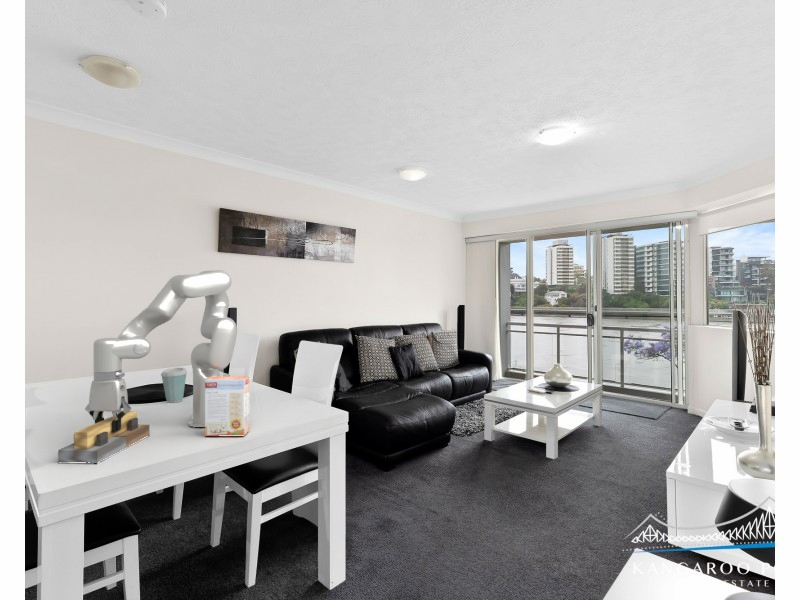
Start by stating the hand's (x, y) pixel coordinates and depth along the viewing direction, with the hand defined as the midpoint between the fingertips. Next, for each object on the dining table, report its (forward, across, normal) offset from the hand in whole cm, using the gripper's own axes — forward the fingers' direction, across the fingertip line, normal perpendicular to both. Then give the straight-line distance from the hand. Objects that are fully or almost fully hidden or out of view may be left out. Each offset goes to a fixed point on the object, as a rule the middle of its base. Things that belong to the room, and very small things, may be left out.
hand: (108, 430), depth 133 cm
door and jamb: (+6, 0, 0) cm, 6 cm away
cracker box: (+6, -33, -15) cm, 37 cm away
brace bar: (+2, 0, 0) cm, 2 cm away
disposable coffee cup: (+6, +12, -57) cm, 59 cm away
